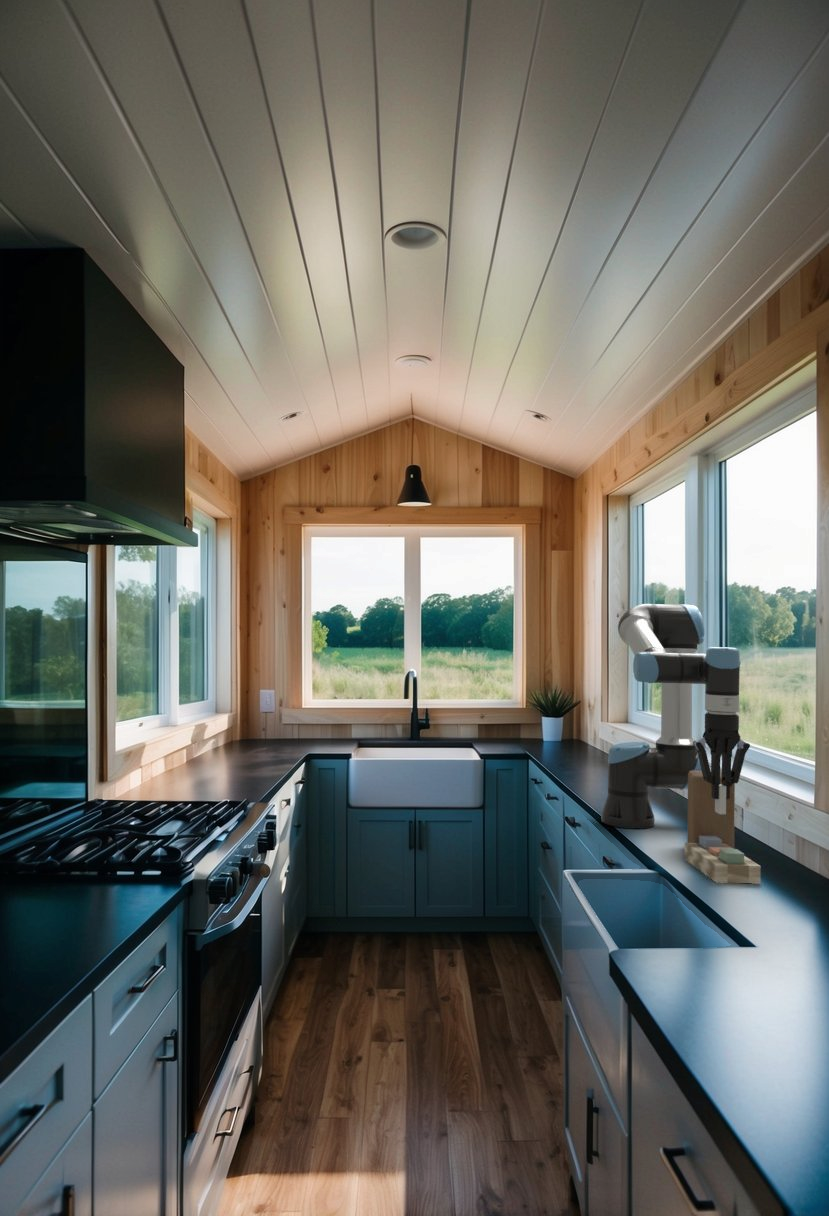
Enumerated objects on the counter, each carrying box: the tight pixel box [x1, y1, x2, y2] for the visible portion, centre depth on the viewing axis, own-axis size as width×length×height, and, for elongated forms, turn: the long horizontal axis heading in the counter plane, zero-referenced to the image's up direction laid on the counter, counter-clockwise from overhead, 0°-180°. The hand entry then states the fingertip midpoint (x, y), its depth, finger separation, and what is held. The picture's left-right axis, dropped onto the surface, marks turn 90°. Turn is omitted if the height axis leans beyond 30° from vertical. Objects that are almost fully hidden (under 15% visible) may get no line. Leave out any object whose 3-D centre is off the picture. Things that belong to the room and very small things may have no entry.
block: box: [686, 770, 736, 849], centre depth 199 cm, size 10×10×20 cm
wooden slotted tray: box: [684, 842, 762, 885], centre depth 183 cm, size 19×10×4 cm, turn 1°
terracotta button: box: [709, 847, 727, 856], centre depth 183 cm, size 4×4×4 cm
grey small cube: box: [699, 836, 722, 849], centre depth 189 cm, size 4×4×4 cm
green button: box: [719, 848, 745, 864], centre depth 177 cm, size 4×4×4 cm
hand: (720, 812), depth 184 cm, fingers closed
